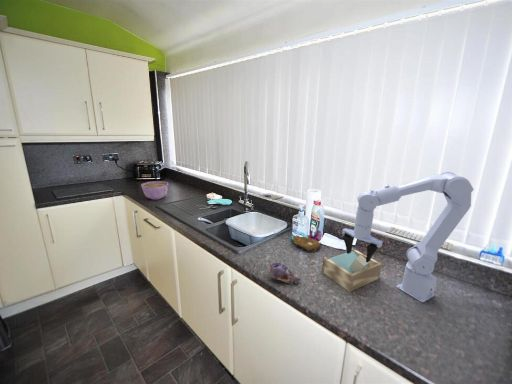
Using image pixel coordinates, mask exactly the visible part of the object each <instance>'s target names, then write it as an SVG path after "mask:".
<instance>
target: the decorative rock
mask: <svg viewBox="0 0 512 384" xmlns="http://www.w3.org/2000/svg"><path fill="white" fill-rule="evenodd" d="M292 239H293V244H295V245H296V246H299V247H300V248H303V249H304V250H306V252H308V253H309V252H314V253H316V252H317V251H319V249H320V247H321V244H322V242H319V241H318V240H316V239H314V238H310V237H308V236H305V237H299V236H298V235H296V236H295V235H293V236H292Z"/></svg>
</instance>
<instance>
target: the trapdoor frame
mask: <svg viewBox="0 0 512 384" xmlns="http://www.w3.org/2000/svg"><path fill="white" fill-rule="evenodd" d="M352 251H353V252H354V253H355V254H356V255H357V256H359V255H362V256H363V257H364V258H365V259H366V257H367V254H364V253H363V252H360V251H359V250H357V249H355V248H353V247H352ZM329 258H330V257H329ZM329 258H328V257H327V256H324V257H323V258H322V259H323V260H322V266H321V268H322V269H321V272H322V273H323V274H324V275H325V276H327V277H328V278H330V279H331V280H332V281H334V282H335V283H337V284H338V285H340V286H341V287H342V288H343V289H345V290H347V291H348V292H350V293H351V292H353V291H355V290H357V289H359V288H362V287H363V286H366V285H368V284H371V283H372V282H375V281H377V280H379V279H380V277H381V272H382V268H383V267H382V266H383V264H382V262H379V261H378V260H375V259H374V258H372V257H371V260H370V261H369V263H368V265H367V266H368V268H365V269H363V270H360V271H358V272H356V273H353V274H352V273H350V272H348V271H347V270H345V269H344V268H342V267H341V266H339V265H337V264H336V263H334V262H333V261H331V260H330V259H329Z"/></svg>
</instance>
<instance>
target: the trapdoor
mask: <svg viewBox="0 0 512 384" xmlns="http://www.w3.org/2000/svg"><path fill="white" fill-rule="evenodd" d="M357 257H358V256H357V255H356V254H355V253H354V252H353V251H351V253H349V254H347V252H344V253H341V254H338V255H335V256H333V257H329V259H330V260H331V261H333V262H334V263H336V264H337V265H339V266H341V267H342V268H344V269H345V270H347V271H348V272H350V273H352V274H353V273H355V272H354V271H352V270H351V269H350V268H349V267H350V266H351V264H352V263H353V261H354V260H355V258H357ZM365 268H368V266H366V267H365Z"/></svg>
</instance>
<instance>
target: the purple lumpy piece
mask: <svg viewBox="0 0 512 384" xmlns="http://www.w3.org/2000/svg"><path fill="white" fill-rule="evenodd" d="M269 275H270V277H271V278H272V279H273V280H275V281H282V282H283V283H285V284H292V285H293V284H294V283H295V285H297V284H298V283H297V282H300V281H301V276H300V275H298V274H295V273H293V272H292V271H291V270H290V268H289V267H287V266H286V264H284V263H283V262H277V261H276V262H275V261H273V262H272V263H271V264H270V266H269Z"/></svg>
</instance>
